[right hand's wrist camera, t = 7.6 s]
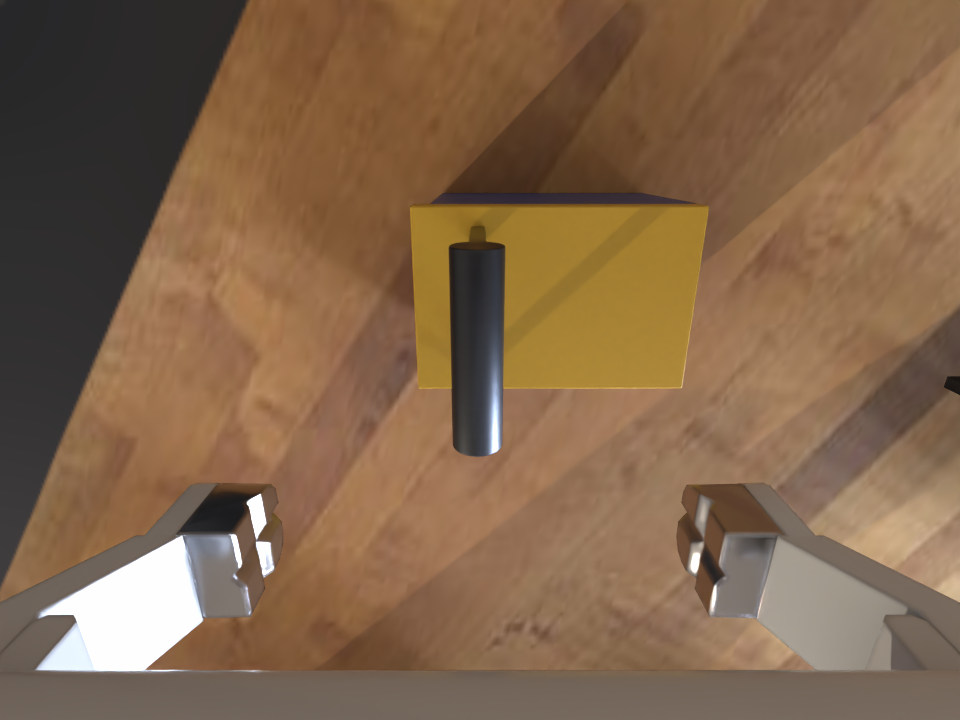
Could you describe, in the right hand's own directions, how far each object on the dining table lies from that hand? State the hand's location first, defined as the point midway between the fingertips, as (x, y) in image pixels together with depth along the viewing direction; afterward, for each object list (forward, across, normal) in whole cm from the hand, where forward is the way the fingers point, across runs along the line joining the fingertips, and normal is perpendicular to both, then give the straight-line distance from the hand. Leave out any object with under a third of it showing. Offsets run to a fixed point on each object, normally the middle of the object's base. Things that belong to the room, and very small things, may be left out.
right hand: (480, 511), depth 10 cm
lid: (+18, -4, 0) cm, 18 cm away
